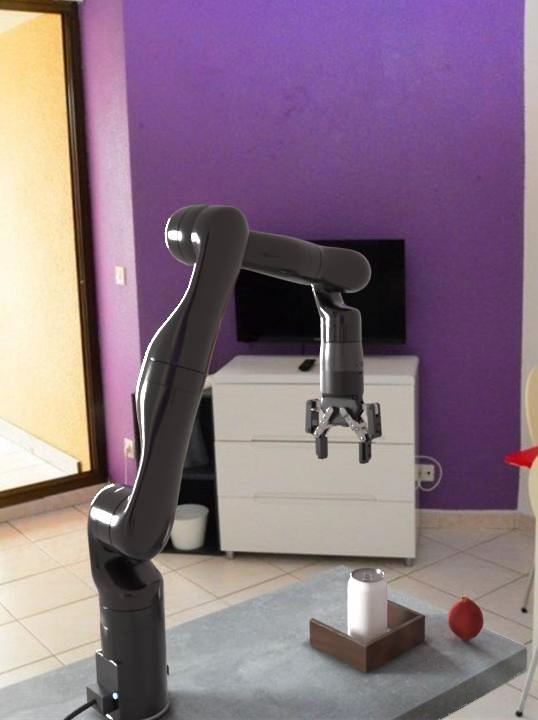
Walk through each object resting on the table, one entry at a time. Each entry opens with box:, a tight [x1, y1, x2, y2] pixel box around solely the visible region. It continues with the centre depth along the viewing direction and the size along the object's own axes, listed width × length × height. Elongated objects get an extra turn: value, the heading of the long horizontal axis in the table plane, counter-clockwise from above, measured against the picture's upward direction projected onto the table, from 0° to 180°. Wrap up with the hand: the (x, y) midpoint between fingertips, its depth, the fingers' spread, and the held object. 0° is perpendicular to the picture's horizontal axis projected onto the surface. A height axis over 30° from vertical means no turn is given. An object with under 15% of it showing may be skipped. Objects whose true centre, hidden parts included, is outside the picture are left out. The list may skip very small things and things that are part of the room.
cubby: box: [309, 599, 426, 674], centre depth 150 cm, size 15×13×4 cm
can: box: [347, 566, 388, 643], centre depth 149 cm, size 6×6×12 cm
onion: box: [446, 595, 485, 642], centre depth 150 cm, size 6×6×8 cm
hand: (343, 460), depth 157 cm, fingers open, 8 cm apart
